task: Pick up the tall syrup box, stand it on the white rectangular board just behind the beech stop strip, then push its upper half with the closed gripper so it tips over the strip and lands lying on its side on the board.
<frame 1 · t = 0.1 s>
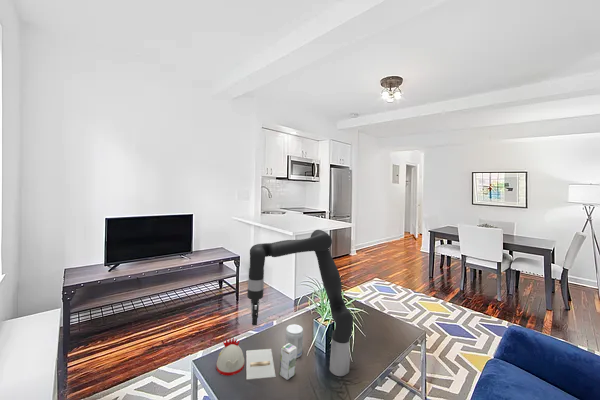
hand: (254, 320, 129), 29 cm above the table, fingers open, 8 cm apart
syrup box: (287, 375, 134), on the table
beech stop strip: (260, 365, 140), resting on white rectangular board
white rectangular board: (259, 363, 141), on the table
kitchen timer: (230, 366, 138), on the table
supplement tub: (293, 354, 151), on the table
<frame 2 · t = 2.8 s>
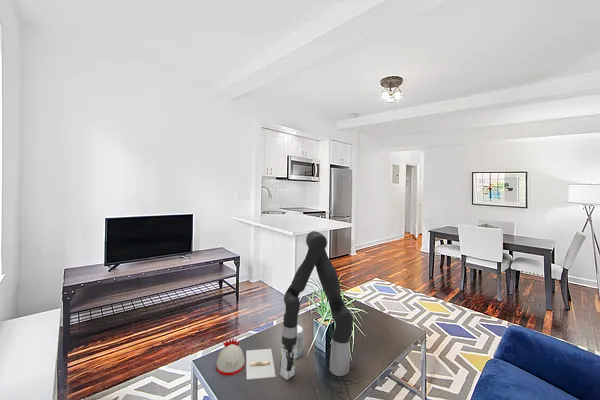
hand: (287, 364, 134), 5 cm above the table, fingers closed on syrup box, 8 cm apart
syrup box: (287, 375, 134), on the table, touching gripper
everything else where it was.
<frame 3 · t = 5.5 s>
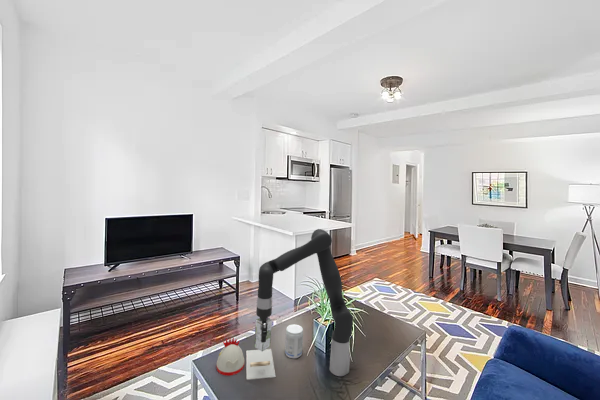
hand: (262, 337, 133), 19 cm above the table, fingers closed on syrup box, 7 cm apart
syrup box: (262, 347, 134), point 13 cm above the table, touching gripper
everything else where it was.
when the fingers open (6 cm above the table, at t = 8.4 s): syrup box stays where it is, resting on white rectangular board.
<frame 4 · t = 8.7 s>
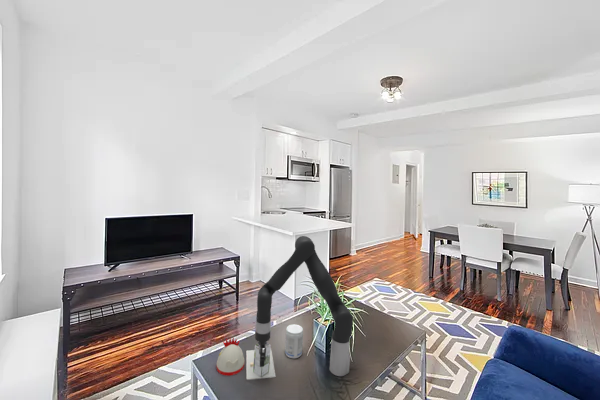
hand: (261, 360, 134), 6 cm above the table, fingers open, 8 cm apart
syrup box: (261, 372, 135), resting on white rectangular board
everything else where it was.
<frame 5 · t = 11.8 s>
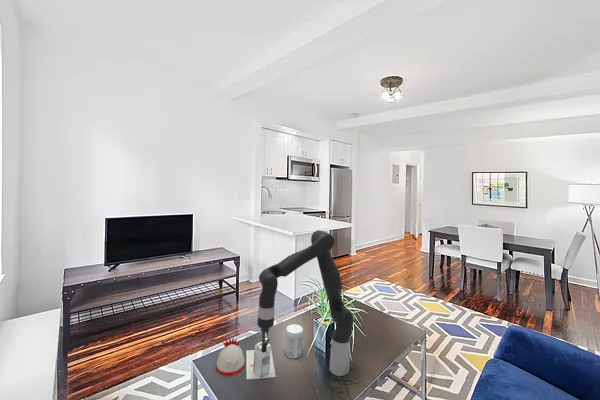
hand: (263, 351, 124), 18 cm above the table, fingers closed
nothing on the table moved.
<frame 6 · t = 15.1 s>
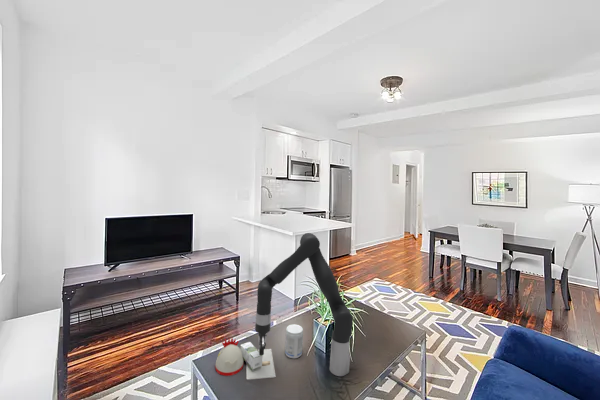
hand: (261, 354, 135), 9 cm above the table, fingers closed
syrup box: (258, 362, 135), point 5 cm above the table, touching beech stop strip
everything else where it was.
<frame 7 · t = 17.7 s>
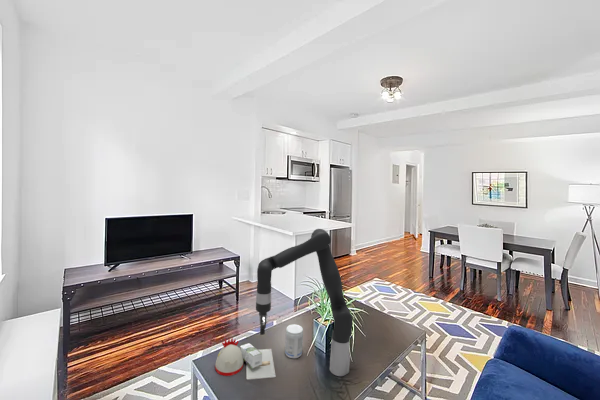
hand: (262, 333, 136), 19 cm above the table, fingers closed
syrup box: (257, 360, 136), point 5 cm above the table, touching beech stop strip, white rectangular board
everything else where it was.
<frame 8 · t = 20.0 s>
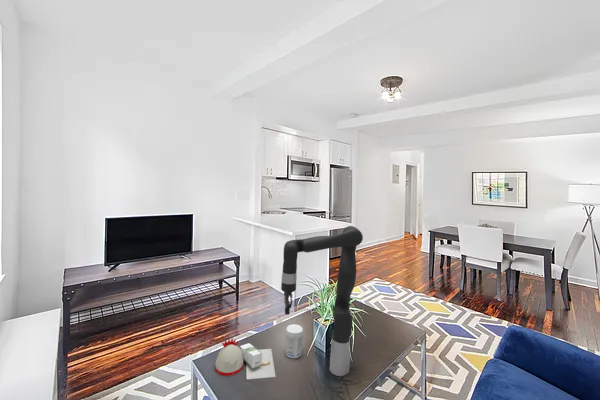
hand: (287, 313, 137), 29 cm above the table, fingers closed
nothing on the table moved.
at the end: syrup box tilted 98°; syrup box inside the target area (8.5 cm from its centre), point 5.3 cm above the table; the gripper is holding nothing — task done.
